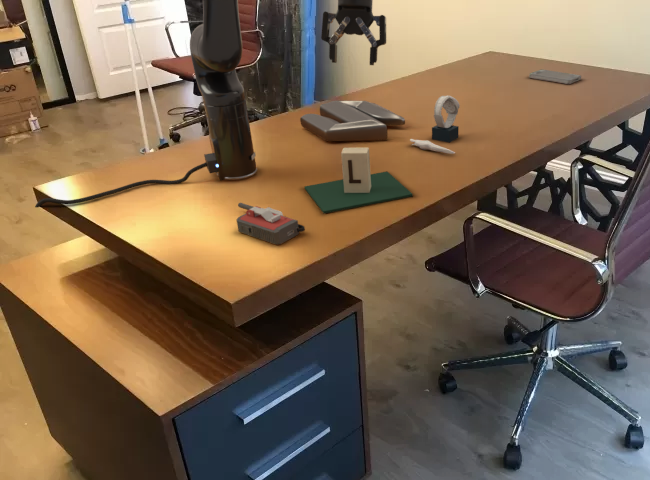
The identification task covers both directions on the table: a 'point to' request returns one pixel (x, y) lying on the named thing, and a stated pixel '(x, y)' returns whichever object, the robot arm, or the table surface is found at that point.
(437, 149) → the white pointed spike
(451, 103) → the watch
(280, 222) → the walkie-talkie
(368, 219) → the table surface
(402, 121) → the emblem
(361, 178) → the cream letter block
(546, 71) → the phone case
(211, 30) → the robot arm
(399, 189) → the desk pad
